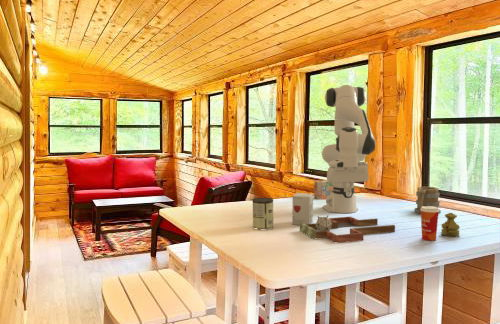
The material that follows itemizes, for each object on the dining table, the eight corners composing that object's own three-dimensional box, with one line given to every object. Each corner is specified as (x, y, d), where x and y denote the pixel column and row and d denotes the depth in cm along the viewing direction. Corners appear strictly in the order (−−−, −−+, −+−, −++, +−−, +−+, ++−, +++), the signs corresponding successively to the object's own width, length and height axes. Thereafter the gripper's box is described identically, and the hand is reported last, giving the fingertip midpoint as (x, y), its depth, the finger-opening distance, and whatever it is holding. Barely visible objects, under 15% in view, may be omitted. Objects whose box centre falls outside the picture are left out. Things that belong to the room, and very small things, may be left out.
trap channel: (293, 227, 209) (293, 219, 208) (367, 220, 220) (367, 213, 220) (321, 244, 178) (321, 234, 178) (406, 235, 190) (406, 227, 190)
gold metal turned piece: (458, 237, 186) (459, 215, 185) (440, 235, 190) (440, 213, 189) (460, 234, 193) (460, 212, 192) (442, 232, 196) (443, 210, 196)
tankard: (421, 209, 250) (421, 183, 248) (443, 212, 241) (443, 185, 240) (405, 214, 236) (406, 187, 235) (428, 217, 227) (429, 190, 226)
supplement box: (291, 224, 213) (291, 195, 212) (296, 220, 222) (296, 192, 221) (309, 226, 210) (309, 196, 209) (313, 222, 219) (313, 193, 217)
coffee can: (256, 224, 214) (256, 197, 213) (275, 226, 211) (275, 198, 210) (249, 229, 205) (249, 200, 204) (270, 230, 201) (269, 201, 200)
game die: (326, 241, 196) (331, 227, 189) (309, 233, 198) (314, 220, 191) (333, 228, 202) (338, 215, 195) (316, 221, 204) (320, 207, 198)
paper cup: (416, 237, 188) (417, 206, 187) (432, 236, 189) (433, 205, 187) (424, 241, 180) (425, 209, 179) (442, 241, 181) (443, 209, 180)
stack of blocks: (343, 197, 294) (343, 179, 293) (347, 198, 288) (347, 180, 286) (314, 198, 290) (314, 180, 289) (317, 199, 284) (317, 181, 283)
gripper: (364, 160, 202) (363, 189, 204) (325, 162, 197) (325, 191, 198) (371, 162, 196) (370, 191, 198) (331, 164, 191) (331, 194, 192)
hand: (347, 191), depth 198 cm, fingers closed
